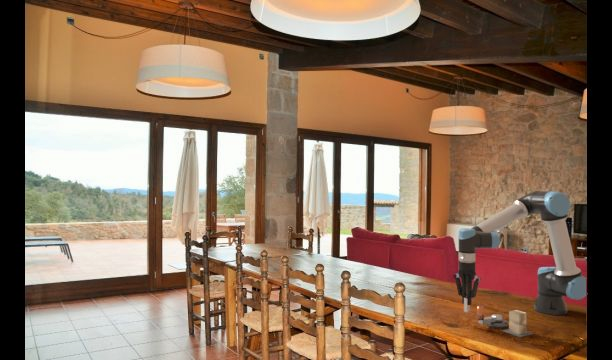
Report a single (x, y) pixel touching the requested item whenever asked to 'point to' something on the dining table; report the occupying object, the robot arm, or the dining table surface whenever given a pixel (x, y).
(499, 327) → the crank base
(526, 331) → the pad
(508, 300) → the dining table surface
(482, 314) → the crank
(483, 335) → the dining table surface
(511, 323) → the block
